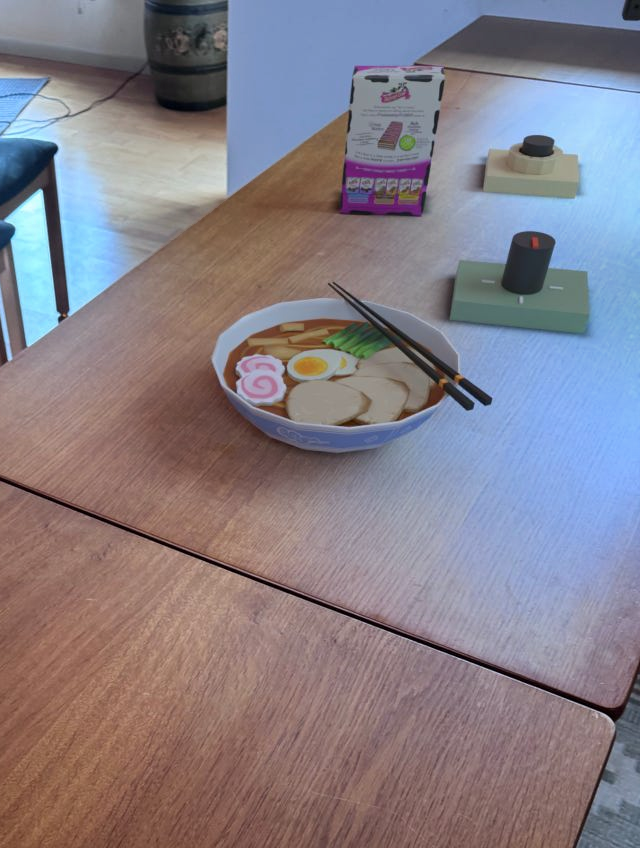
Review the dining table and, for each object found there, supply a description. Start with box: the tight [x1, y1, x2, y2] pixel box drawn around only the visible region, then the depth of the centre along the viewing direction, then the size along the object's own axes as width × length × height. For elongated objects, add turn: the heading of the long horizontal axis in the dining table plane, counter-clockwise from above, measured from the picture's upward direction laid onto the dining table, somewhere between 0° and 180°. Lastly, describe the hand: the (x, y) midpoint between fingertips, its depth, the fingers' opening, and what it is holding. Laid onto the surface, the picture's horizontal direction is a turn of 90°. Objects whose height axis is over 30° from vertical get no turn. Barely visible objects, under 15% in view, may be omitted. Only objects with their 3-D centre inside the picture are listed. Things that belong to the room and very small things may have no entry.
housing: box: [482, 142, 580, 200], centre depth 125 cm, size 12×10×4 cm
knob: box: [501, 230, 557, 294], centre depth 98 cm, size 4×4×5 cm
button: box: [520, 134, 555, 157], centre depth 123 cm, size 4×4×2 cm
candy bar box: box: [338, 65, 446, 217], centre depth 116 cm, size 11×5×16 cm, turn 80°
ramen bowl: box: [210, 281, 494, 454], centre depth 86 cm, size 25×23×8 cm
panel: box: [449, 259, 591, 335], centre depth 101 cm, size 14×10×3 cm
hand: (631, 19), depth 104 cm, fingers closed
